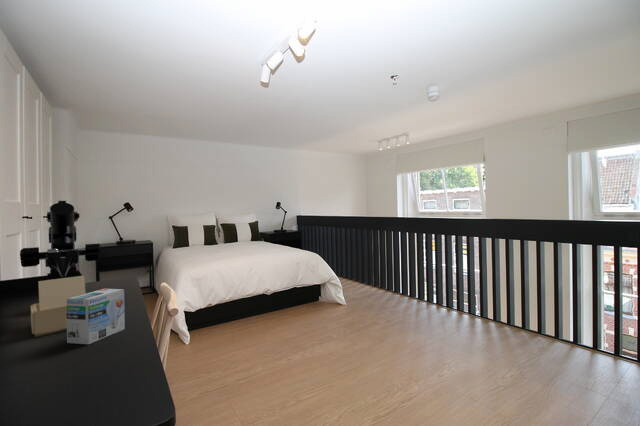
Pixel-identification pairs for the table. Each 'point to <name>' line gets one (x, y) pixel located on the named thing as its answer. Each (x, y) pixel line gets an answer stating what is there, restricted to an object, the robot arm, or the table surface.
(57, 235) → the robot arm
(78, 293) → the far flap
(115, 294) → the light bulb box
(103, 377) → the table surface
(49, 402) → the table surface
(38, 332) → the carton
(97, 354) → the table surface
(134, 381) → the table surface
